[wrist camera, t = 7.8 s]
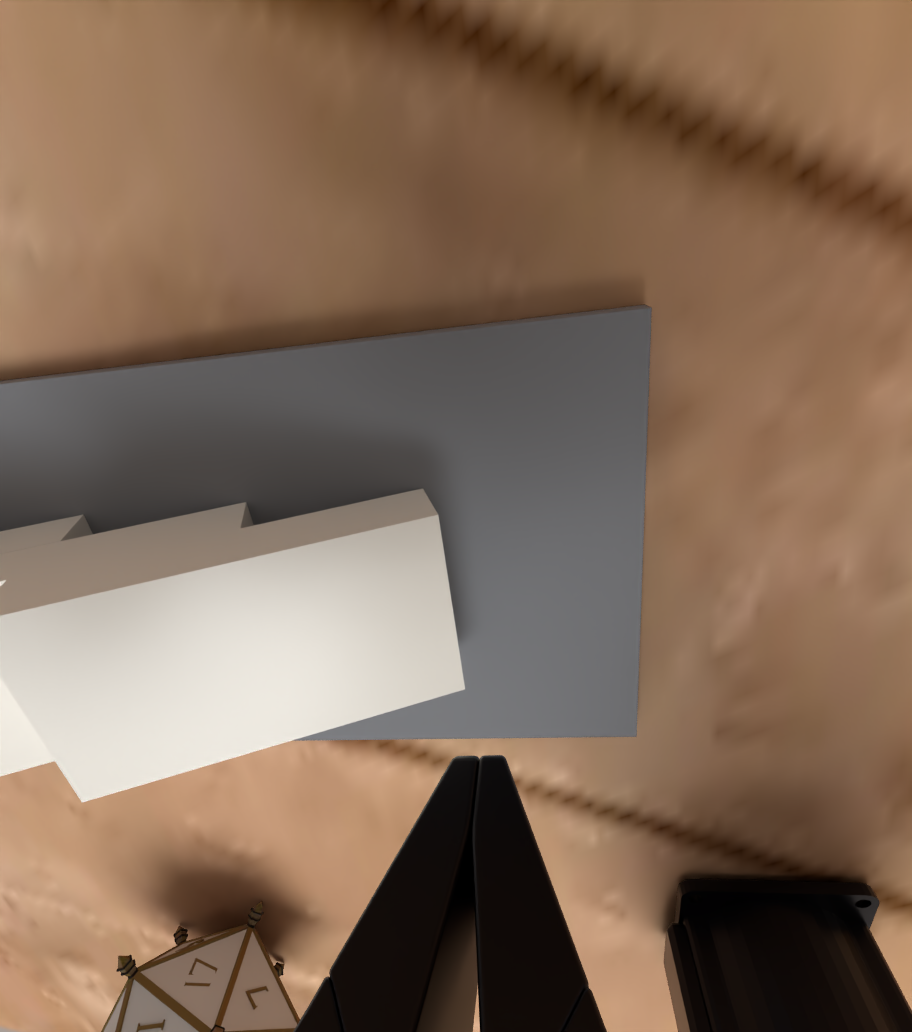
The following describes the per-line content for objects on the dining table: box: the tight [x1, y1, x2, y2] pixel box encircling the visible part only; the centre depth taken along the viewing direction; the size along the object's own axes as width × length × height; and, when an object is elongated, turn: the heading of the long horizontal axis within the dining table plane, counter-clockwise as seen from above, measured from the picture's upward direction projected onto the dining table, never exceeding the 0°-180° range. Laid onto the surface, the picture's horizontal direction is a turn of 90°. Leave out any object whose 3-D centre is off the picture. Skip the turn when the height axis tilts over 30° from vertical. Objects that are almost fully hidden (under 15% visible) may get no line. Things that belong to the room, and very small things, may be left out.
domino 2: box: [0, 488, 465, 802], centre depth 12 cm, size 2×5×9 cm
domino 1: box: [0, 502, 254, 776], centre depth 13 cm, size 2×5×9 cm
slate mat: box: [0, 305, 652, 741], centre depth 15 cm, size 26×12×1 cm, turn 97°
